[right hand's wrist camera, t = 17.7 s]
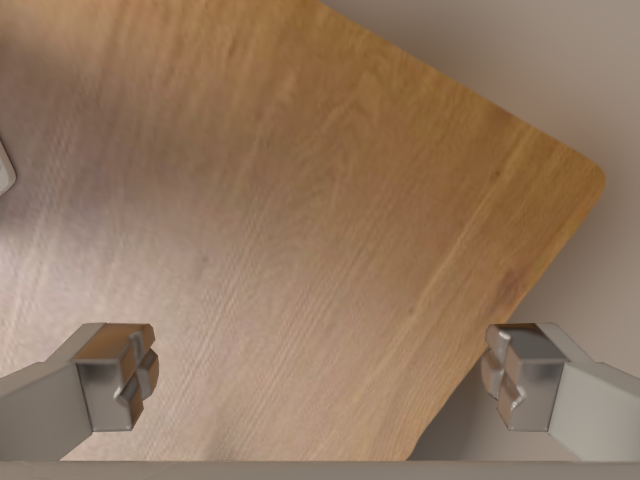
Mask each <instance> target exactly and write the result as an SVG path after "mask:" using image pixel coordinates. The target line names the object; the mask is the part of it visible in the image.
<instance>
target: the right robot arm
mask: <svg viewBox="0 0 640 480" xmlns="http://www.w3.org/2000/svg"><path fill="white" fill-rule="evenodd" d="M15 181H16V174H15V171H14V169H13V167H12V164H11V162H10V160H9V158H8V156H7V154H6V152H5V150H4V147H3V145H2V143H1V141H0V196H1V195H2V194H3V193H5V192H6V191H7V190H8V189H9V188H10V187H12V185H13V184H14V183H15ZM154 341H155V336H154V331H153V327H152V326H151V325H150V324H138V323H86V324H83V325H82V326H81V327H80V328H79V329H78V330H77V331H76V332H74V333H73V334H72V335H71V336H70V337H69V338H68V339H67V340H66V341H65V342H64V343H63V344H62V345H61V346H60V347H59V348H58V349H57V350H56V351H55V352H54V353H53V354H52V355H51V356H50V357H49V358H48V359H47V360H46V361H45V362H37V363H34V364H32V365H30V366H28V367H25V368H23V369H21V370H19V371H16V372H14V373H12V374H10V375H7V376H5V377H3V378H0V480H640V379H639V378H637V377H635V376H633V375H630V374H628V373H626V372H624V371H621V370H619V369H617V368H615V367H612V366H610V365H608V364H606V363H603V362H595V361H594V360H593V359H592V358H591V357H590V356H589V355H588V354H587V353H586V352H585V351H584V350H583V349H582V348H581V347H580V346H579V345H578V344H577V343H576V342H575V341H574V340H573V339H572V338H571V337H570V336H569V335H568V334H567V333H566V332H565V331H564V330H563V329H562V328H561V327H560V326H559V325H557V324H555V323H522V324H490V325H489V326H488V328H487V330H486V336H485V341H486V342H487V344H488V345H489V347H490V348H489V349H488V350H487V351H486V352H485V353H484V354H483V355H482V362H481V374H482V380H483V384H484V387H485V389H486V391H487V393H488V395H489V396H491V397H492V398H494V399H495V400H497V401H498V402H497V408H496V409H497V411H498V413H499V415H500V416H501V418H502V420H503V422H504V424H505V425H506V427H507V429H508V431H525V432H548V435H550V436H551V437H552V438H553V439H555V440H556V441H557V442H559V443H560V444H561V445H562V446H564V447H565V448H566V449H567V450H569V451H570V452H571V453H573V454H574V455H575V456H576V457H578V458H579V459H580V460H581V461H59V460H60V459H61V458H63V457H64V456H65V455H66V454H68V453H69V452H70V451H71V450H73V449H74V448H75V447H77V446H78V445H79V444H80V443H82V442H83V441H84V440H85V439H87V438H88V437H89V436H91V435H92V432H114V431H132V429H133V427H134V425H135V424H136V422H137V420H138V418H139V416H140V415H141V413H142V411H143V409H144V408H143V402H142V401H143V400H145V399H146V398H148V397H149V396H151V395H152V393H153V391H154V389H155V387H156V384H157V380H158V375H159V361H158V355H157V354H156V353H155V352H154V351H153V350H152V349H151V348H150V347H151V345H152V344H153V342H154Z"/></svg>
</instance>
